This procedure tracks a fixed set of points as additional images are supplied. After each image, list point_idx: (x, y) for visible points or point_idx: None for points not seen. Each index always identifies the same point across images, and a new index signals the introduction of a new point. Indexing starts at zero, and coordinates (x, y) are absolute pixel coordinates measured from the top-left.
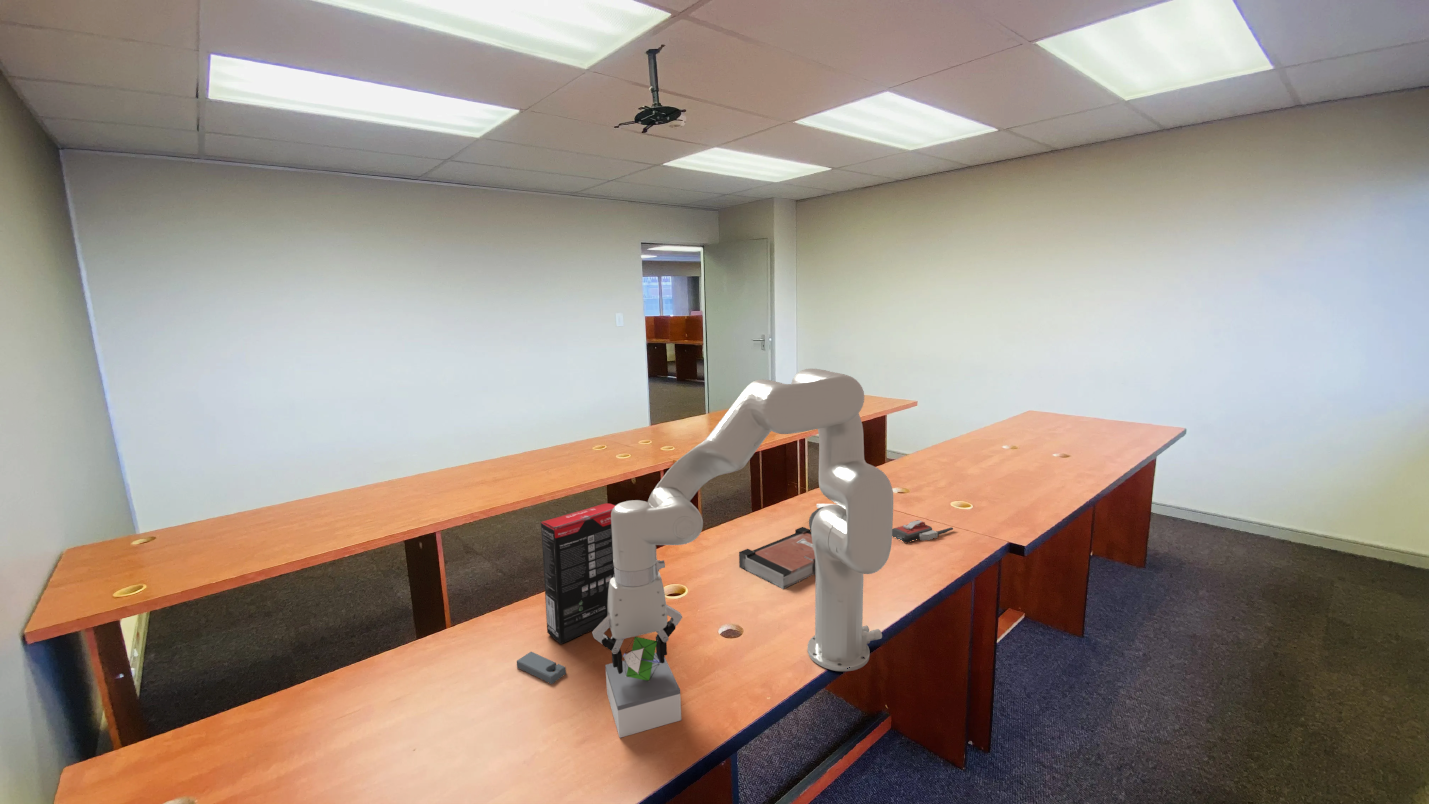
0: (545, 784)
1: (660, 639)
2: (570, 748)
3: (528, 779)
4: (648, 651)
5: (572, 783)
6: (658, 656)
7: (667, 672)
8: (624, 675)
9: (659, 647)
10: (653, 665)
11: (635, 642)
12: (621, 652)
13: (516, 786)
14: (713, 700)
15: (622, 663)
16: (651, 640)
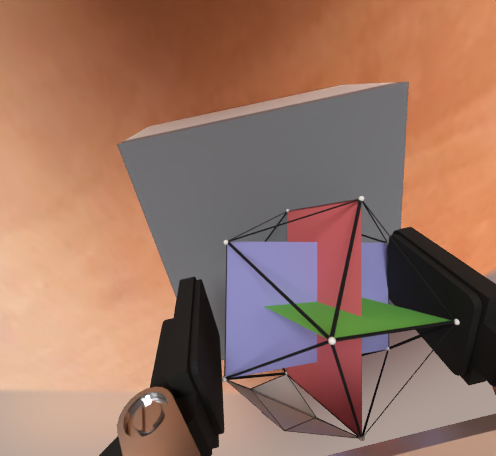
0: (68, 378)
1: (490, 380)
2: (91, 311)
3: (25, 369)
4: (366, 307)
5: (122, 378)
6: (395, 273)
7: (384, 240)
8: (218, 234)
9: (440, 347)
10: (343, 188)
11: (317, 324)
12: (221, 433)
13: (7, 380)
14: (443, 209)
15: (206, 148)
16: (426, 322)
